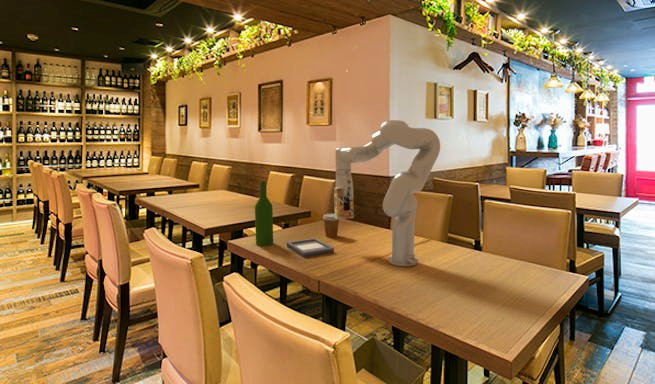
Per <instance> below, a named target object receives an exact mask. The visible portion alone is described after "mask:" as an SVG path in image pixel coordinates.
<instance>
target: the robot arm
mask: <svg viewBox="0 0 655 384" xmlns="http://www.w3.org/2000/svg"><path fill="white" fill-rule="evenodd" d="M394 145H396V146H399V147H402V148H404V149H408V150H419V151H418V153H417V154H416V155H415V157H414V158H413V160H412V162H411V164H410V167H409V168H408V169H407V170H406V171H401V172H399V173H397V174H396V175H395V176H394V177H393V179H392V180H391V183H390V184H389V187H388V189H387V192H386V194H385V196H384V198H383V201H382V210H383V211H384V212H383V213H384V214H385V215H386V216H388V217H391V218H393V220H392V229H391V230H392V236H391V237H392V238H391V256H390V257H388V261H387V262H388V263H389V264H390V265H393V266H397V267H412V266H413V267H414V266H415V265H417V263H418V262H419V259H418V258H416V254H415V253H414V249H415V229H416V228H415V227H416V225H415V224H416V223H415V221H416V215H417V209H418V200H417V197H416V196H415V195H414V194H415V193H419V192H421V190H423V188H424V187H425V185H426V182H427V180H428V178H429V176H430V174H431V171H432V169H433V167H434V165H435V163H436V161H437V159H438V157H439V155H440V151H441V142H440V138H439V136H438V135H437V133H436V132H435V131H434V130H432V129H429V128H426V127H425V128H424V127H417V128H416V127H415V128H414V127H409V125H408V123H406V121H404V120H398V119H397V120H396V119H389V120H386V121H384V122H383V123H382V124H381V125H380V127H379V130H378V131H376V132H374V133H373V134H372V136H371V141H370V142H369V143H367V144H365V145H363V146H350V147H346V146H344V147H343V146H342V147H336V148H335V153H334V154H335V155H334V157H335V188H341V192H342V196H344V201H345V203H344V211H348V210H350V202H351V201H350V200H351V198H352V197H353V198H354V182H353V177H352V164H358V163H366V162H368V161H371V160H372V159H374V158H377V156H380V155H381V154H382V153H383V151H385V150H387V149H388V148H389V147H392V146H394ZM346 195H348V196H346ZM346 197H348V198H347V199H346Z"/></svg>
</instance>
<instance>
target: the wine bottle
mask: <svg viewBox="0 0 655 384" xmlns="http://www.w3.org/2000/svg"><path fill="white" fill-rule="evenodd" d="M259 185H260V186H259V187H260V188H259V191H260V195H259V198H258V200H257V201H256V204H255V206H254V214H255V215H254V217H255V218H254V219H255V221H254V223H255V224H254V225H255V245H256V246H258V247H259V246H260V247H269V246H272V245H273V244H274V219H273V218H274V217H273V216H274V213H273V212H274V211H273V204H272V203H271V201H270V199H269V198H268V197H267V181H260V182H259Z"/></svg>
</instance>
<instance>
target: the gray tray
mask: <svg viewBox="0 0 655 384" xmlns="http://www.w3.org/2000/svg"><path fill="white" fill-rule="evenodd" d="M286 248H288V249H290V250H291V251H293V252H294V253H295V254H297V255H298V256H300V257H302V258H304V259H305V258H311V257H315V256H316V257H317V255H318V256H323V255H329V254H334V253H335V247H333V246H331V245H329V244H328V243H325V242H324V241H321V240H319V239H318V238H315V237H314V238H307V239H301V240H293V241H287V242H286Z"/></svg>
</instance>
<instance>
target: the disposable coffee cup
mask: <svg viewBox="0 0 655 384" xmlns="http://www.w3.org/2000/svg"><path fill="white" fill-rule="evenodd" d="M322 219H323V225H324V232H325V237H326V238H336V237H338V232H339V231H338V230H339V222H340V219H336V218H335V213H326V214H323V216H322Z"/></svg>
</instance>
